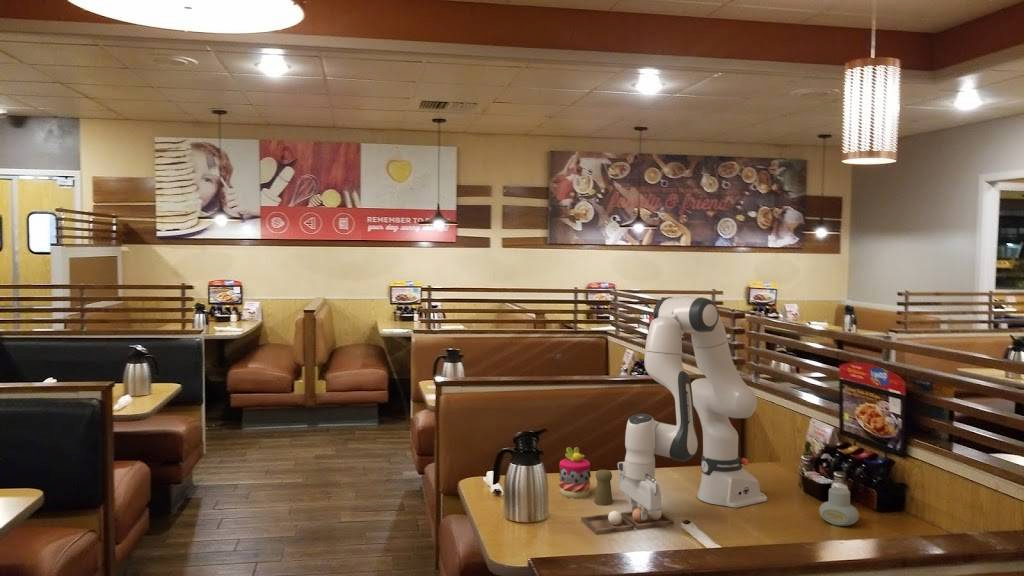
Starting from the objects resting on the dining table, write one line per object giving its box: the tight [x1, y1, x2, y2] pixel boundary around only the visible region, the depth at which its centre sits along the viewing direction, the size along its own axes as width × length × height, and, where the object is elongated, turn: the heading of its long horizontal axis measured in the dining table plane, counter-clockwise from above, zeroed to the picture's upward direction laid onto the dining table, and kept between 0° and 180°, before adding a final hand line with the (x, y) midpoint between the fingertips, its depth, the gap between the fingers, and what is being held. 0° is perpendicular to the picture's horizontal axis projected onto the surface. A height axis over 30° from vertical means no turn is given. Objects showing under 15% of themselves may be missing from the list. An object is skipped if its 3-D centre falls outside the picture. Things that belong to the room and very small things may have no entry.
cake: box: [558, 446, 592, 500], centre depth 242 cm, size 10×11×15 cm
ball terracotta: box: [632, 507, 644, 522], centre depth 215 cm, size 4×4×4 cm
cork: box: [593, 469, 614, 507], centre depth 232 cm, size 6×6×11 cm
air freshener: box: [818, 486, 860, 527], centre depth 217 cm, size 11×8×10 cm
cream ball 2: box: [648, 509, 662, 520], centre depth 217 cm, size 4×4×4 cm
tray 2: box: [619, 511, 675, 531], centre depth 216 cm, size 12×11×2 cm
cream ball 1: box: [608, 510, 622, 525], centre depth 213 cm, size 4×4×4 cm
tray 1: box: [580, 513, 635, 536], centre depth 212 cm, size 12×11×2 cm
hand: (639, 516), depth 215 cm, fingers closed on ball terracotta, 4 cm apart
